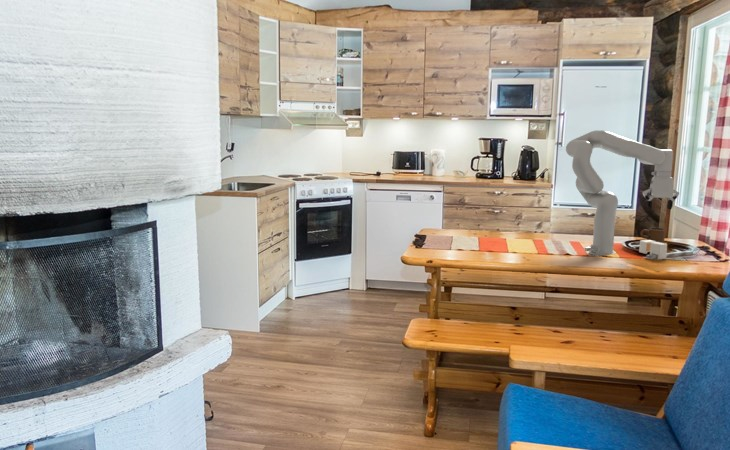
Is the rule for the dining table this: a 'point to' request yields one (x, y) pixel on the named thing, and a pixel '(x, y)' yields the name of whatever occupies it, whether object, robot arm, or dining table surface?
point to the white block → (658, 249)
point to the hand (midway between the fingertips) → (659, 208)
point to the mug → (654, 234)
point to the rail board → (671, 255)
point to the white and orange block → (645, 246)
